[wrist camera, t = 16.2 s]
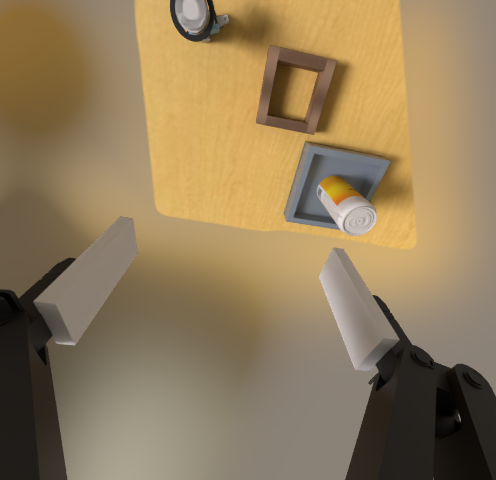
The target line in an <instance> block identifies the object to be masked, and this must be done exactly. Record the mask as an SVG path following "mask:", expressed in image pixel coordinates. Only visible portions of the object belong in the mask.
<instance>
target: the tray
mask: <svg viewBox="0 0 496 480" xmlns="http://www.w3.org/2000/svg"><path fill="white" fill-rule="evenodd" d="M390 162H391V161H390V160H388V159H385V158H383V157H381V156H377V155H372V154H367V153H362V152H357V151H352V150H347V149H341V148H336V147H331V146H326V145H321V144H316V143H311V142H306V141H305V144H304V147H303V151H302V154H301V157H300V161H299V164H298V168H297V171H296V174H295V178H294V181H293V184H292V188H291V191H290V194H289V198H288V201H287V204H286V208H285V211H284V215H285V219H286V222H293V223H299V224H306V225H312V226H319V227H325V228H331V229H338V230H340V228H339V227H338V226H337V224H336V223H335V221H334V220H333V218H332V217H331V215H330V214H329V212H328V211H327V210H326V208H325V207H324V205H323V204H322V202H321V201H320V199H319V198H318V196H317V188H318V185H319V184H320V182H321V181H322V180H323V179H325V178H327V177H329V176H334V175H335V176H340V177H341V178H343V179H344V180H345V181H346V182H347V183H348V184H349V185H351V186H352V187H353V188H354V189H355V190H356V191H357V192H358V193H360V194H361V195H362V196H363V197H364V198H365V199H366V200H367V201H369V202H370V200H371V198H372V196H373V195H374V193H375V191H376V189H377V187H378V185H379V183H380V181H381V179H382V177H383V175H384V174H385V172H386V170H387V168H388V166H389V164H390Z"/></svg>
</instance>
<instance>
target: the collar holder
mask: <svg viewBox="0 0 496 480" xmlns="http://www.w3.org/2000/svg"><path fill="white" fill-rule="evenodd" d="M277 63H279V64H283V65H288V66H292V67H296V68H301V69H305V70H309V71H314V72H318V75H317V79H316V82H315V86H314V90H313V93H312V97H311V100H310V104H309V107H308V111H307V114H306V118H305V121H304V122H303V121H298V120H293V119H288V118H283V117H278V116H273V115H269V114H267V113H268V107H269V102H270V97H271V92H272V87H273V82H274V77H275V72H276V67H277ZM336 63H337V61H336V60H332V59H328V58H323V57H319V56H315V55H311V54H307V53H302V52H298V51H294V50H290V49H286V48H281V47H277V46H273V45H270V47H269V49H268V55H267V61H266V66H265V72H264V78H263V84H262V89H261V95H260V101H259V107H258V112H257V118H256V123H257V124H262V125H267V126H272V127H277V128H282V129H287V130H292V131H297V132H302V133H307V134H312V135H314V133H315V130H316V127H317V124H318V121H319V117H320V114H321V111H322V108H323V105H324V101H325V98H326V95H327V92H328V89H329V86H330V82H331V79H332V76H333V73H334V70H335V66H336Z"/></svg>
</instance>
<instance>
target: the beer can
mask: <svg viewBox="0 0 496 480" xmlns="http://www.w3.org/2000/svg"><path fill="white" fill-rule="evenodd" d="M317 196H318V198H319V199H320V201H321V202H322V204H323V205H324V207H325V208H326V210H327V211H328V212H329V214H330V215H331V217H332V218H333V220H334V221H335V223H336V224H337V226H338V227H339V228H340V230H341V231H342V232H344V233H347V234H349V235H352V236H359V235H362V234H365V233H367V232H368V231H370V230H371V229H372V228H373V226H374V225H375V223H376V220H377V215H376V210H375V208H374V206H373V205H372V204H371V203H370V202H369V201H367V200H366V199H365V198H364V197H363V196H362V195H361V194H360V193H358V192H357V191H356V190H355V189H354V188H353V187H352V186H351V185H349V184H348V183H347V182H346V181H345V180H344V179H343V178H341V177H340V176H335V175H334V176H329V177H327V178H325V179H323V180H322V181H321V182H320V184H319V185H318V188H317Z"/></svg>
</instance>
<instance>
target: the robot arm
mask: <svg viewBox="0 0 496 480" xmlns="http://www.w3.org/2000/svg"><path fill="white" fill-rule="evenodd" d="M137 254H138V251H137V244H136V236H135V229H134V221H133V218H127V217H119V218H118V219H117V220H116V221H115V222H114V223H113V224H112V225H111V226H110V227H109V228H108V229H107V230H106V231H105V232H104V233H103V234H102V235H101V236H100V237H99V238H98V239H97V240H96V241H95V242H94V243H93V244H92V245H91V246H90V247H89V248H87V249H86V250H85V252H83V253H82V254H81V255H80V256H79V257H78V258H77V259H75V258H68V259H66V260H64V261H62V262H60V263H58V264H56V265H55V266H54V267H53V268H52V269H51V270H50V271H49V272H48V273H47V274H45V275H44V276H43V277H42V279H41V280H39V281H38V282H36V283H35V284H34V285H33V286H32V287H31V288H30V289H29V290H27V291H26V292H25V293H24V294H23V295H22V296H21V297H20V298H19V299H18V297H17V296H16V294H15V292H13V291H11V290H0V480H67V475H66V467H65V461H64V454H63V447H62V441H61V434H60V427H59V421H58V415H57V407H56V401H55V394H54V387H53V380H52V374H51V368H50V361H49V355H48V348H47V346H46V343H47V341H48V340H49V339H50V338H51V337H52V336H53V338H54V340H55V342H56V343H57V344H68V345H76V343H77V341H78V340H79V339H80V337H81V336H82V334H83V333H84V331H85V330H86V328H87V327H88V325H89V324H90V323H91V321H92V320H93V318H94V317H95V315H96V314H97V312H98V311H99V309H100V307H101V306H102V305H103V303H104V302H105V301H106V299H107V297H108V296H109V295H110V293H111V292H112V290H113V289H114V287H115V286H116V284H117V283H118V281H119V280H120V279H121V277H122V276H123V274H124V273H125V271H126V270H127V268H128V267H129V265H130V264H131V262H132V261H133V259H134V258H135V257H136V255H137ZM319 279H320V281H321V283H322V286H323V289H324V291H325V294H326V297H327V299H328V302H329V304H330V307H331V309H332V311H333V314H334V317H335V319H336V322H337V325H338V327H339V330H340V332H341V335H342V337H343V340H344V342H345V345H346V347H347V350H348V353H349V355H350V358H351V360H352V363H353V365H354V368H355V370H365V371H370V370H371V369H372V367H374V366H375V365H376V366H377V368H378V371H379V372H378V373H377V374H376V375H375V376H374V377H373V378H372V379H371V380H370V381H369V384H370V385H371V384H372V383H373V382H374V383H373V387H372V390H371V394H370V397H369V401H368V404H367V407H366V411H365V414H364V418H363V421H362V424H361V428H360V431H359V435H358V438H357V441H356V445H355V448H354V452H353V455H352V459H351V462H350V465H349V469H348V472H347V476H346V479H345V480H433V478H434V480H496V396H495V394H494V392H493V390H492V388H491V386H490V385H489V383H488V382H487V380H485V378H484V377H483V376H482V375H481V374H480V373H478V372H477V371H476V370H474V369H472V368H471V367H469V366H467V365H464V364H456V365H455V366H454V367H453V368H449V367H446V366H443V365H441V364H438V363H436V362H434V360H433V359H432V358H431V357H430V355H429V354H428V353H426V352H425V351H424V350H423V349H421V348H419V347H417V346H414V345H412V344H411V342H410V341H409V339H408V338H407V336H406V335H405V333H404V332H403V330H402V329H401V327H400V325H399V324H398V322H397V321H396V320H395V319H394V316H393V315H392V313H390V310H389V309H388V307H387V306H386V304H385V303H384V302H383V301H382V300H381V299H380V298H379V297H378V296H375V295H372V294H371V292H370V291H369V290H368V288H367V286H366V284H365V283H364V281H363V280H362V278H361V276H360V275H359V273H358V271H357V270H356V268H355V267H354V265H353V263H352V262H351V260H350V259H349V257H348V255H347V254H346V253H345V251H344V249H340V248H333V249H332V251H331V253H330V255H329V257H328V259H327V261H326V263H325V265H324V267H323V269H322V272H321V273H320V276H319ZM458 414H459V415H460V418H461V422H460V420H459V417H458Z"/></svg>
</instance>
